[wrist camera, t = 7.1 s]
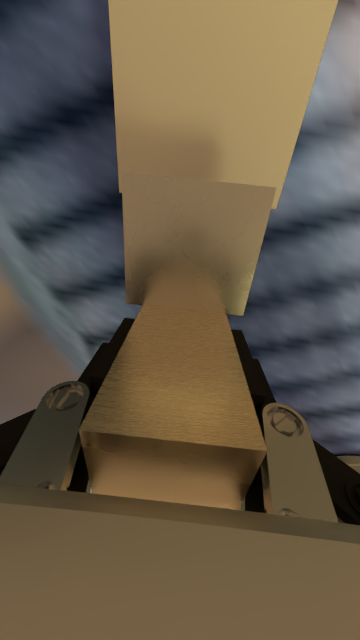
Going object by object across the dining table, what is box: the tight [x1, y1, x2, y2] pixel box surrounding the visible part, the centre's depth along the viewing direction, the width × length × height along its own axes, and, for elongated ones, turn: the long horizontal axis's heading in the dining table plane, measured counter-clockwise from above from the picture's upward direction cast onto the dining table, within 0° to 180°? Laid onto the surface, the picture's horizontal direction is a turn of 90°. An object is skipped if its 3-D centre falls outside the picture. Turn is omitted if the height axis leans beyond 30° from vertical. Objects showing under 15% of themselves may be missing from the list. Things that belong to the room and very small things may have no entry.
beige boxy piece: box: [79, 172, 276, 510], centre depth 7 cm, size 9×6×7 cm, turn 175°
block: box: [108, 0, 338, 209], centre depth 10 cm, size 2×8×7 cm
